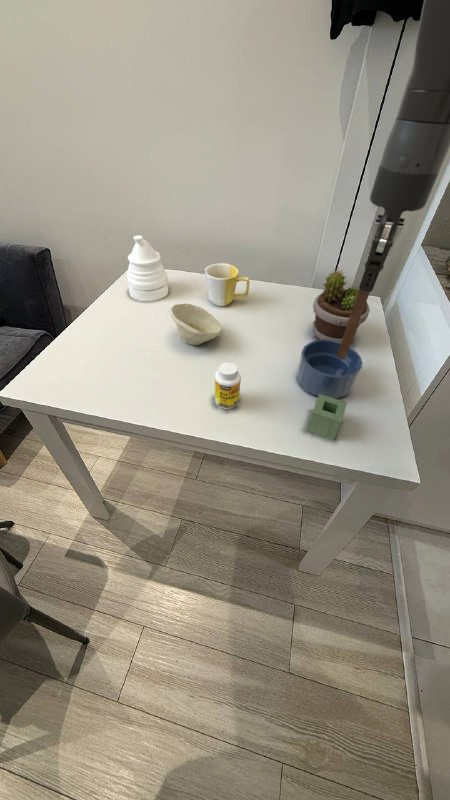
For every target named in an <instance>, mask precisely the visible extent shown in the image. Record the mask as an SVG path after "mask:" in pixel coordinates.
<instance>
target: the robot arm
mask: <svg viewBox="0 0 450 800" xmlns="http://www.w3.org/2000/svg"><path fill="white" fill-rule="evenodd" d="M413 54H414V55H413V61H412V66H411V70H410V73H409V76H408V77H407V81H406V84H405V88H404V91H403V94H402V97H401V101H400V104H399V107H398V110H397V114H396V118H395V120H394V123H393V125H392V128H391V130H390V133H389V135H388V137H387V140H386V142H385V146H384V149H383V152H382V155H381V159H380V162H379V166H378V169H377V173H376V176H375V179H374V182H373V186H372V189H371V192H370V196H369V201H370V202H371V203H372V204H373V205H374V206H376V207H378V208H380V207H381V208H383V210H384V212H383V214H380V213H378V214H377V216H376V218H375V220H374V224H373V227H372V230H371V232H372V235H371V238H370V241H369V244H368V247H367V254H368V255H367V260H366V261H365V263H364V272H363V274H362V278H361V281H360V283H359V286H358V287H359V288H358V289H360V290H362V291H367V292H370V293H371V292H373V290H374V288H375V285H376V283H377V279H378V277H379V274H380V272H382V270H384V268H385V267H384V266H385V265H384V264H385V262H386V260H387V258H388V257H390V256H391V255H392V252H393V249H394V246H395V244H396V241H397V240H398V239H397V238H399V237H400V235H401V233H402V231H403V229H404V226H405V220H406V217H401V216H402V214H403V213H404V212H416V211H420V210H422V209H424V207H426V205H427V202H428V201H429V198H430V195H431V193H432V190H433V188H434V185H435V184H436V181H437V179H438V176H439V174H440V172H441V169H442V167H443V164H444V162H445V159H446V157H447V154H448V152H449V149H450V0H423V4H422V8H421V14H420V19H419V25H418V29H417V34H416V40H415V48H414V53H413ZM371 260H376V261H380V262H376V261H371Z"/></svg>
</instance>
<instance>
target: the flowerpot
mask: <svg viewBox="0 0 450 800" xmlns="http://www.w3.org/2000/svg"><path fill="white" fill-rule="evenodd" d="M332 270H333V271H331V272H329V273H328V275H325V277H324V280H326V281H324V282H323V284H321V285H322V287H324V288H323V291H321V293H320V294H318V295H317V296H316V297H315V299H314V301H313V305H312V311H313V312H314V319H315V320H314V321H313V324H312V331H313V332H312V333H313V335H314V337H315V338H316V340H334V341H337V342H341V341H342V338H343V335H344V332H345V330H346V327H347V324H348V321H349V318H350V315H351V312H352V309H353V306H354V303H355V300H356V297H357V295H358V292H359V286H357V284H353V285H352V284H351V285H349V286H348V287H347V286H346V285H348V281H347V280H346V281H345V279H346V278H347V277H349V276H347V275H345V272H343V271H342V269H340V270H339V268H338V266H336V269H332ZM344 287H345V288H344ZM346 288H347V289H346ZM370 312H371V309H370V306H369V304H368V300H367V301H366V304H365V307H364V310H363V312H362V315H361V318H360V320H359V323H358V326H357V328H356V331H355V334H354V337H353V339H354V338H355V336H356V335H357V330H358V328H359V327H360V325H361V324H363V323H364V322H366V320H367V319H368V317H369V314H370ZM353 339H352V341H353Z"/></svg>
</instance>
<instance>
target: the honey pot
mask: <svg viewBox="0 0 450 800" xmlns="http://www.w3.org/2000/svg"><path fill="white" fill-rule="evenodd" d="M133 240H134V242H135V243H134V245H133V247H132V250H131V252H130V254H128V256H127V261H128V262H129V265H128V267H127V274H126V281H127V286H128V287H127V288H128V290H129V295H130V297H131V298H132V299H135V300H136V301H141V302H154V301H159V300H161V299H164V298H165V297H166V296H167V295H168V294H169V283H168V274H167V272H166V271H165V268H164V267H163V264H162V262H161V258H162V256H161V254H160V253H159V252H158V251H156V250H155V249H154V247H153V246H152V245H151V244H150V242H149V241H147V240H146V239H144V237H143V236H142V235H134V236H133Z"/></svg>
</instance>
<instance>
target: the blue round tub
mask: <svg viewBox="0 0 450 800" xmlns="http://www.w3.org/2000/svg"><path fill="white" fill-rule="evenodd" d="M340 344H341V342H337V341H334V340H318V339H315V340H313V341H311V342H310V341H309V342H308V343H307V344H305V345H304V346H303V348H302V350H301V353H300V357H299V360H298V364H297V369H296V372H295V373H296V380H297V382H298V384H299V385H300V386H301V388H302V389H304V390H305V391H306V392H308V393H310V394H312V395H313V396H316V397H318V396H319V394H322V395H325V396H328V397H331V398H334V399H339V398H343V397H345V396H347V395H349V394H350V393H351V391H353V388H354V386H355V384H356V381H357V379H358V378H359V377H358V376H359V375H360V372H361V370H362V366H363V361H362V360H363V359H362V357H361V355H360V354H359V352H358V351H356V350H355V349H354V348H353V347H352V346H350V347H349V350H348V353H347V355H346V358H345V359H341V358H338V357H336V356H337V353H338V350H339V347H340Z"/></svg>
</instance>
